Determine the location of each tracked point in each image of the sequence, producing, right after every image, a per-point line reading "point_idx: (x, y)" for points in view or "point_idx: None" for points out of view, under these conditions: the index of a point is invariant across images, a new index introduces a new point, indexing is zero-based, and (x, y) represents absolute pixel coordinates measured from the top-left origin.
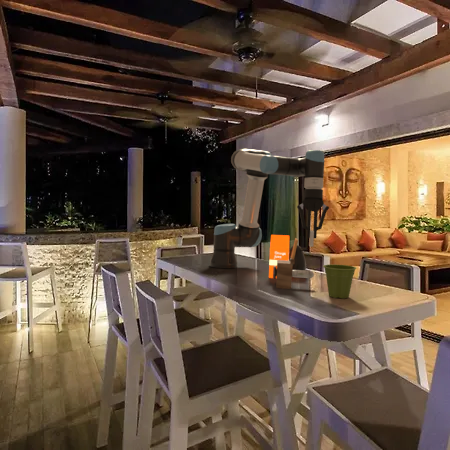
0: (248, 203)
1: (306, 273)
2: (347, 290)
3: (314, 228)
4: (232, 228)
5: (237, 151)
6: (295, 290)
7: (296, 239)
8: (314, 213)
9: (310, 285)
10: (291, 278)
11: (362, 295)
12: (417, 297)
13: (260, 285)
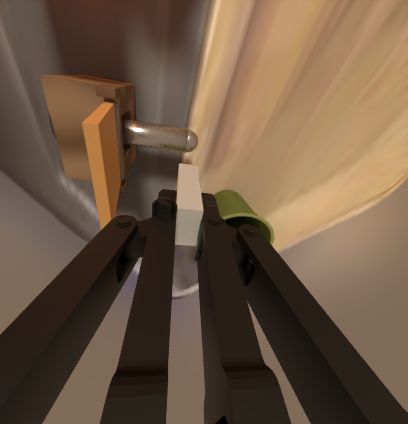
0: None
1: (173, 150)
2: (235, 227)
3: (200, 255)
4: None
5: None
6: (146, 168)
7: (102, 221)
8: (206, 399)
9: (195, 95)
10: (130, 165)
11: (277, 190)
12: (374, 188)
13: (47, 121)
